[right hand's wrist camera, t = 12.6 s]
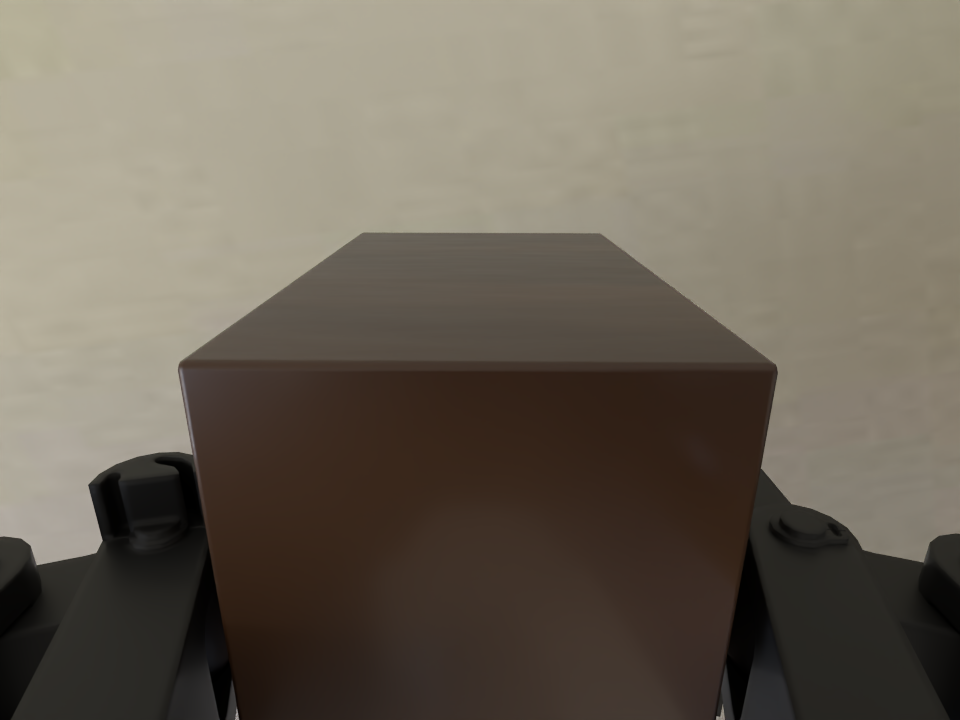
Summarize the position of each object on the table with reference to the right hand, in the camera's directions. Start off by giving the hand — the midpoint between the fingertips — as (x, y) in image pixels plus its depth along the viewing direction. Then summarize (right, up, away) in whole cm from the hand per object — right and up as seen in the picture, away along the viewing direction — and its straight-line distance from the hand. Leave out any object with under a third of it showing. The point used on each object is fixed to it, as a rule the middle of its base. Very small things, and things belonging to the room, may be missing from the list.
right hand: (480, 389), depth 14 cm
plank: (0, -12, +4) cm, 12 cm away
